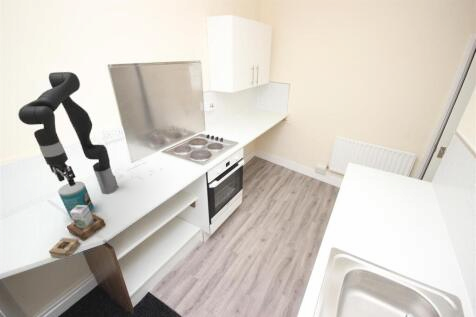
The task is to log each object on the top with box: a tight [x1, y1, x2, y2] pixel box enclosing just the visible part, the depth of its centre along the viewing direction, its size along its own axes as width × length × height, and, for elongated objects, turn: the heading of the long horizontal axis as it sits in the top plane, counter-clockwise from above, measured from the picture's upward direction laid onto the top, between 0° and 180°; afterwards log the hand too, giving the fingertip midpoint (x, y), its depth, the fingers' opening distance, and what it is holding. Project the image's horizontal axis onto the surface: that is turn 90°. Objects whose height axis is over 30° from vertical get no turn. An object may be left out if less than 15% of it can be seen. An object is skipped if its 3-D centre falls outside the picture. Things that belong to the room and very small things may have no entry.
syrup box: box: [70, 205, 94, 230], centre depth 112 cm, size 6×6×14 cm
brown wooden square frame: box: [66, 212, 106, 242], centre depth 115 cm, size 12×12×4 cm
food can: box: [57, 181, 95, 220], centre depth 122 cm, size 12×12×18 cm
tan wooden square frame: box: [48, 237, 81, 259], centre depth 103 cm, size 8×8×4 cm
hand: (67, 182), depth 101 cm, fingers open, 8 cm apart
